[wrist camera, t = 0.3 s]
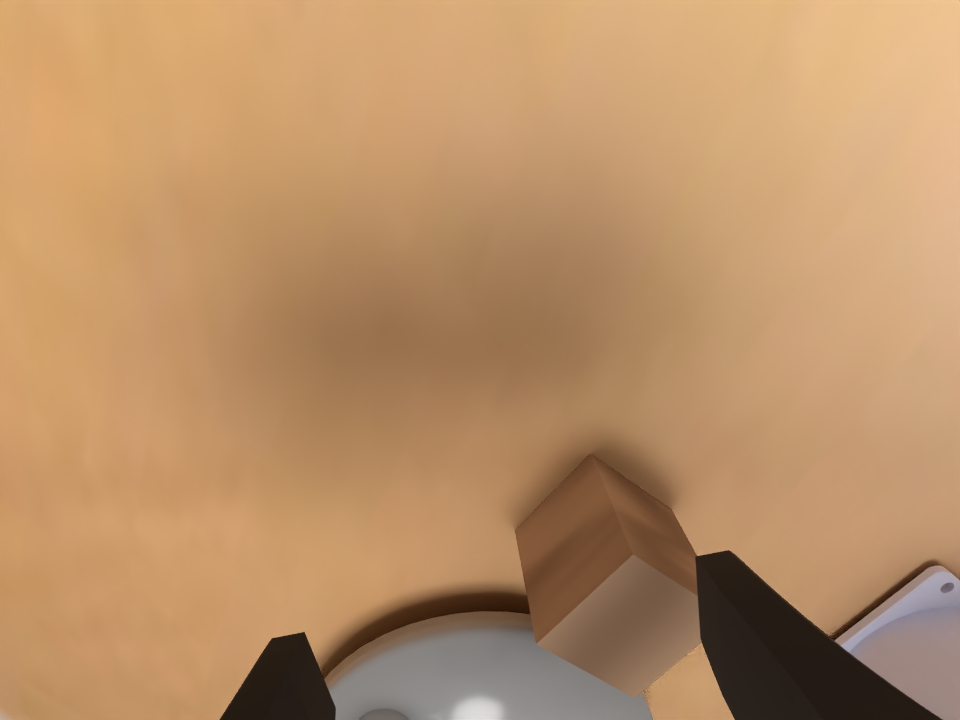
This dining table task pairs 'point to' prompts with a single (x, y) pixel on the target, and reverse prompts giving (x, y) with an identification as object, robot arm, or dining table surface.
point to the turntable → (471, 676)
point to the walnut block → (610, 578)
